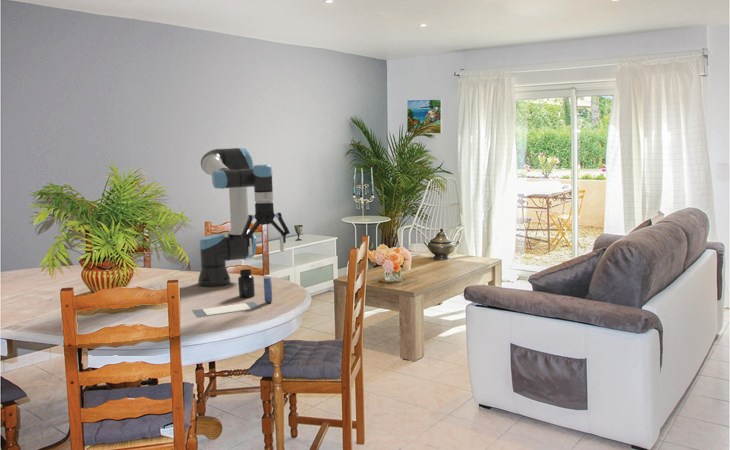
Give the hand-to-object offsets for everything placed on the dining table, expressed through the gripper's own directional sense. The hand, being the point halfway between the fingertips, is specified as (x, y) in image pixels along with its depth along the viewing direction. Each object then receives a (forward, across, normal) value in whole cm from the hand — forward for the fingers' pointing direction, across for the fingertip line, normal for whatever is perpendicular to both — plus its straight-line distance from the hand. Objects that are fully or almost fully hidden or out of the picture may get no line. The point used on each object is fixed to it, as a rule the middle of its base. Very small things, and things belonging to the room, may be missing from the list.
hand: (266, 252), depth 264 cm
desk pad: (+22, -18, -1) cm, 28 cm away
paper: (+21, -18, -1) cm, 28 cm away
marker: (+22, 0, 0) cm, 22 cm away
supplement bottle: (+22, -5, +16) cm, 28 cm away
